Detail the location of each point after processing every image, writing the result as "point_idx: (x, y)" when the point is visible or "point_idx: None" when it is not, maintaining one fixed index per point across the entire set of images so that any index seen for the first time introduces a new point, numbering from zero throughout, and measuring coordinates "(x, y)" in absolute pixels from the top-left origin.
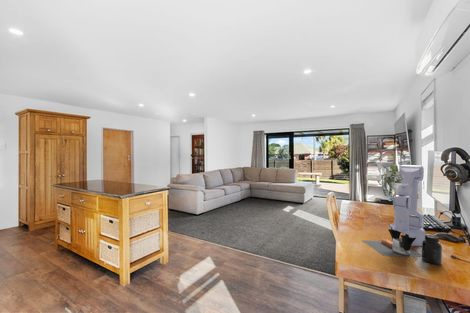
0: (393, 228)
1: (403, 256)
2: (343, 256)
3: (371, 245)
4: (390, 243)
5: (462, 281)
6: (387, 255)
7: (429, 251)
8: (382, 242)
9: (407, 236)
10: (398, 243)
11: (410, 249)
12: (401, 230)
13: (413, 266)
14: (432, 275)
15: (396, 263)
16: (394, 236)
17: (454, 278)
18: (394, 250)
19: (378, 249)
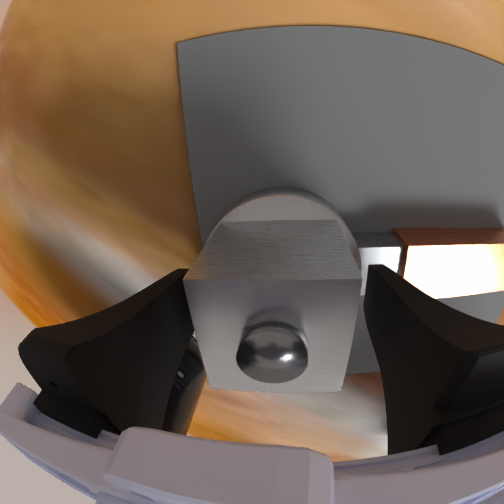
0: (174, 498)
1: (199, 228)
2: None
3: (444, 68)
4: (426, 254)
5: (29, 316)
6: (184, 79)
7: None
8: (497, 231)
9: (59, 398)
10: (206, 258)
11: (361, 366)
12: (54, 467)
13: (61, 201)
14: (16, 237)
15: (70, 105)
16: (401, 334)
17: (35, 308)
18: (267, 193)
19: (345, 66)
